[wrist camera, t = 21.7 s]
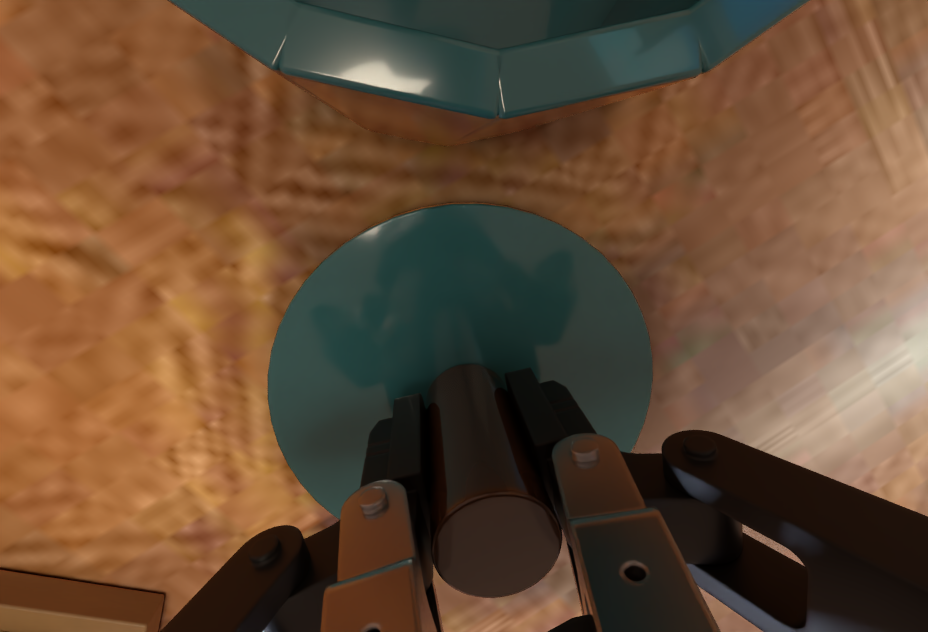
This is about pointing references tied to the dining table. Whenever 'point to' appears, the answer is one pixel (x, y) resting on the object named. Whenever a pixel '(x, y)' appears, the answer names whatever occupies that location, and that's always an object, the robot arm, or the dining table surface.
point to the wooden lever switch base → (74, 606)
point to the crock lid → (458, 372)
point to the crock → (484, 54)
